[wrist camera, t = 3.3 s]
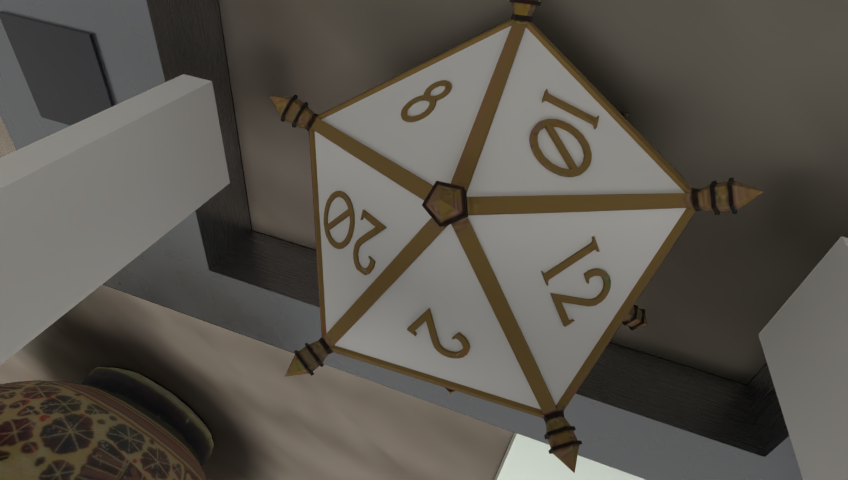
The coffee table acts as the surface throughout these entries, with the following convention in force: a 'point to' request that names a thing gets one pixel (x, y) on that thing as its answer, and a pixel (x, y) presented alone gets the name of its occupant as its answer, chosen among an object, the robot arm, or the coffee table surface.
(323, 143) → the game die
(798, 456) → the robot arm
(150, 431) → the ceramic bowl
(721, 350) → the coffee table surface
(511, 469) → the pale green flat panel
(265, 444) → the coffee table surface
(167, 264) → the dark grey rectangular frame
